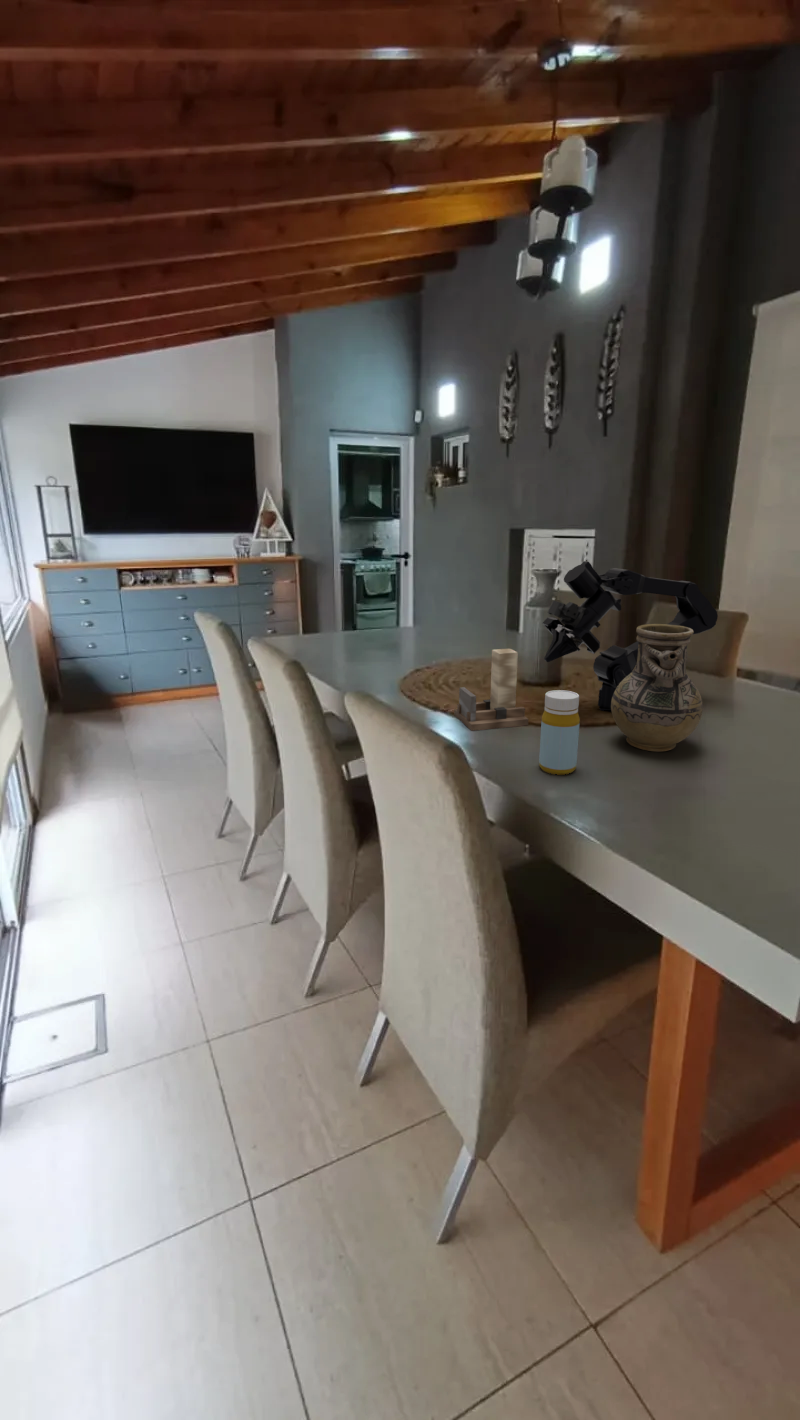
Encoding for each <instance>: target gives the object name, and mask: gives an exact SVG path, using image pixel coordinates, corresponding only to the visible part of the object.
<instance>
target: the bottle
mask: <svg viewBox="0 0 800 1420" xmlns="http://www.w3.org/2000/svg"><path fill="white" fill-rule="evenodd" d="M544 696H545V697H544V711H543V713H542V715H541V724H540V725H541V727H540V737H539V738H540V740H539V743H540V744H539V757H538V758H539V759H538V762H539V763H538V765H539V767H540V769H541V770H542V771H543V772H545V773H546V774H550V773H551V774H550V775H555V774H557V775H556V776H558V775H559V776H563V775H565V774H566V775H569V773H570V774H571V773H573V772H574V771H575V770H576V769H577V764H578V763H577V762H578V751H579V750H578V749H579V748H578V747H579V739H580V737H579V736H580V735H579V734H580V721H581V720H580V715H579V706H580V705H579V703H580V702H579V701H580V695H579V694H578V693H577V692H574V691H570V690H563V689H561V690H560V689H557V690H555V689H554V690H549V691H547V692H546V693H545V695H544Z"/></svg>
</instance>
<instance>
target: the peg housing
mask: <svg viewBox="0 0 800 1420" xmlns="http://www.w3.org/2000/svg"><path fill="white" fill-rule="evenodd" d="M458 691H459V693H458V694H459V695H458V697H459V699H458V703H457V708H455V709H454V713H453V714H454V715H453V716H455V717H456V718H457V719H458V720H459V721H460V722H461V723H462V724H463V725H464V726H466V728H468V729H469V730H470V731H472V732H474V731H484V730H494V729H504V728H513V727H523V726H529V718H528V717H527V716H525V715H526V713H525V712H526V708H525V707H524V706H515V708H504V707H501V708H494V709H493V710H490V699H483V701H477V695H475V694H474V693H473V692H472V691H470V690H469V689H467V688H466V687H465V686H463V687H459V690H458Z"/></svg>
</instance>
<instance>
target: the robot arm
mask: <svg viewBox="0 0 800 1420" xmlns="http://www.w3.org/2000/svg"><path fill="white" fill-rule="evenodd" d="M563 582H564V583H565V584H566V585H567V586H568V588H569V589H570V590H571V591H572V592H573V594H574V595H575V596H576V597H577V598H578V599H585V600H584V601H583V602H582V603H581V604H580V605H578V604H576V603H574V602H571V601H569V602H567V603H562V602H559V601H556V600H552V602H551V604H550V606H549V608H548V611H547V614H548V615H553V616H555V617H557V618H555V617H551V616H550V617H546V618H545V619H544V621H543V622H542V623H541V624H542V626H544V627H545V629H546V630H547V631H548V632H549V633H550V635H552V640H551V643H550V645H549V647H548V649H547V651H546V654H545V655H544V658H543V660H544V661H545V662H546V663H550V662H552V661H555V660H557V659H559V658H562V657H564V656H568V655H569V654H571V653H574V652H579V651H581V649H580V648H579V647H581V645H582V644H584V645H585V646H586V647H587V648H586V651H587V652H588V653H591V654H593V655H594V654H595V653H597V651H598V650H599V649H600V648H601V642H600V640H598V638H597V637H596V636H595V635H594V634H593V632H592V631H591V630H593V628H599V627H600V626H601V624H600V623H599V622H600V621H601V620H602V619H603V618H604V616H605V615H607V613H608V612H609V611H610V610H613V611H618V612H621V610H622V604H621V603H622V599H621V598H616V597H615V596H614V595H613V594H617V595H621V596H622V595H623V596H629V595H630V596H631V595H638V594H646V593H647V594H654V595H662V596H671V597H674V598H675V599H676V608H677V609H678V612H677V613H676V615H675V616H674V618H673V619H672V621H670V622H668V623H667V625H678V626H684V627H688V628H691V629H692V630H693V631H694V633H693V634H692V635H691V636H693V635H698V634H701V633H704V632H706V631H710V630H712V629H713V628H714V627H716V625H717V621H718V617H719V616H718V614H719V613H718V611H717V609H716V608H715V607H713V605H712V603H711V601H709V599H708V598H707V597H706V596H705V595H704V594H703V593H702V592H701V591H700V588H699V587H698V585H697V584H696V583H695V582H693V581H688V580H687V581H686V580H672V579H664V578H657V577H648V576H645V575H643V574H641V573H638V572H636V571H633V570H631V569H625V568H624V569H623V568H617V567H614V568H613V567H612V568H609V569H608V570H607V571H606V572H605V573H600V574H599V573H598V572H597V571H596V570H595V568H594V567H593V566H592V563H590V562H589V561H586V560H585V561H582V562H581V563H580V564H578V565H576V566H574V567H573V568H571V569H570V570H568V571H567V572H566V574H565V575H564V576H563ZM558 618H559V619H558ZM638 645H639V642H638V641H637V640H636V642H633V643H631V644H630V645H629V646H626V647H620V646H617V645H611V646H610V647H608V648H607V649H605V650H604V651H599V655H598V656H597V657H596V658H595V659H594V662H593V666H592V667H593V672H594V674H596V676H597V679H598V681H599V682H602V683H601V687H600V688H599V690H598V701H597V706H598V707H599V709H600V710H599V709H598V710H599V711H604V710H611V700H612V697H613V694H614V692H615V690H616V688H617V686H618V685H619V684H620V682H621V681H622V680H623V679H624V678H625V677H627V676H628V675H629V674H630V673H632V671H633V670H634V669H635V667H636V664H637V657H638Z"/></svg>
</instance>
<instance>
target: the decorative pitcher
mask: <svg viewBox="0 0 800 1420" xmlns="http://www.w3.org/2000/svg"><path fill="white" fill-rule="evenodd" d="M667 624H668V623H667ZM667 624H664V623H663V624H662V623H648V624H647V623H645V624H641V625H638V626H637V627H636V631H635V632H636V634H637V636H636V642H637V641H638V642H639V645H638V657H637V664H636V666H635V668H634V670H633V671H632V673H630V674H629V675H628V676H627V677H625V678H624V679H623V680H622V681H621V682H620V684H619V685H618V686H617V688H616V690H615V692H614V694H613V697H612V700H611V711H610V712H611V715H612V718H613V720H614V722H615V724H616V725H617V727H618V729H619V730H620V731H621V732H622V734H623V735H625V737H626V742H627V743H628V744H629V746H632V747H634V748H636V749H639V750H643V751H647V752H648V751H649V752H661V753H662V752H668V751H672V750H673V749H675V748H676V746H677V744H678V743H680V742H682V741H684V740H686V739H687V738H688V737H689V736H690V735H691V734H692V733H693V732H694V731H695V730H696V728H697V727H698V726H699V724H700V721H701V719H702V716H703V706H704V704H703V698H702V696H701V694H700V693H701V692H700V691H699V689H698V688H697V686H696V684H695V683H694V682H693V680H692V679H691V678H690V677H689V676H688V674H687V668H686V667H687V666H686V665H687V655H688V645H689V644H690V643H691V639H690V638H691V637H692V636H693V635H694V634H693V633H694V631H693V630H692V629H691V628H688V627H684V626H678V625H667ZM692 634H693V635H692Z"/></svg>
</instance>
